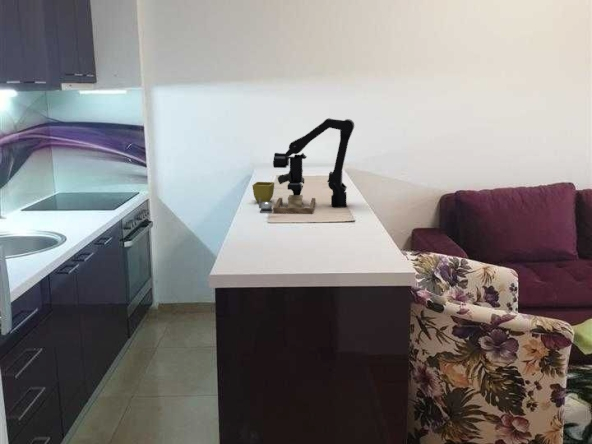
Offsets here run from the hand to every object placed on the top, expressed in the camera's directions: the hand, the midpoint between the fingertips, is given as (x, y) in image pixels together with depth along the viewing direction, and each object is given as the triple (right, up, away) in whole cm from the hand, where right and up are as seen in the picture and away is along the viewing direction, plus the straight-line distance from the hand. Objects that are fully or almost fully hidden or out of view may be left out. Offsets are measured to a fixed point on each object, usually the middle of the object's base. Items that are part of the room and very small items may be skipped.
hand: (296, 201), depth 289 cm
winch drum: (-13, -5, -14) cm, 20 cm away
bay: (-1, -3, -6) cm, 7 cm away
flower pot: (-15, 0, +7) cm, 17 cm away
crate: (0, -3, -5) cm, 5 cm away
